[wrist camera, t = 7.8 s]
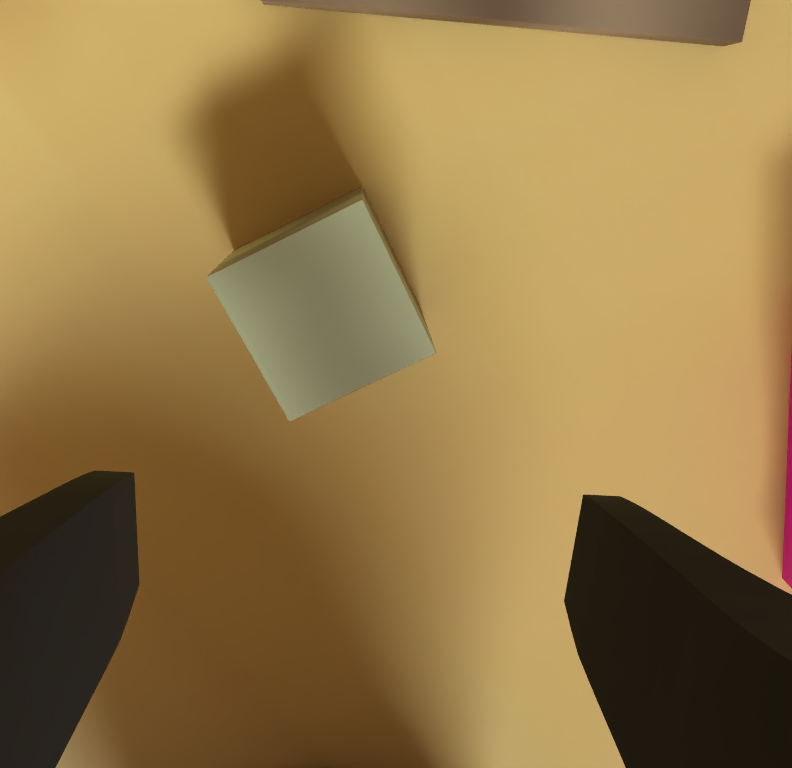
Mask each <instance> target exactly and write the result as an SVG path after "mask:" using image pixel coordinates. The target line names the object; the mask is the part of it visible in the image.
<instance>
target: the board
mask: <svg viewBox="0 0 792 768" xmlns="http://www.w3.org/2000/svg"><path fill="white" fill-rule="evenodd" d="M261 1H262V2H263V4H267V5H278V6H289V7H299V8H310V9H321V10H332V11H343V12H354V13H365V14H376V15H387V16H398V17H409V18H420V19H431V20H442V21H453V22H464V23H475V24H486V25H496V26H507V27H518V28H529V29H540V30H551V31H562V32H573V33H584V34H595V35H606V36H617V37H628V38H639V39H650V40H661V41H672V42H682V43H693V44H704V45H715V46H726V45H731V44H735V43H739V42H742V39H743V34H744V30H745V25H746V20H747V15H748V11H749V6H750V1H751V0H261Z"/></svg>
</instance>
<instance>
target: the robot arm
mask: <svg viewBox="0 0 792 768" xmlns="http://www.w3.org/2000/svg"><path fill="white" fill-rule="evenodd" d="M138 587H139V568H138V546H137V524H136V503H135V481H134V473H131V472H110V471H93V472H90V473H87V474H84V475H82V476H80V477H78V478H76V479H73V480H71V481H69V482H67V483H65V484H63V485H61V486H59V487H57V488H55V489H53V490H51V491H50V492H48V493H46V494H44V495H42V496H40V497H38V498H36V499H34V500H32V501H30V502H28V503H26V504H24V505H22V506H20V507H18V508H17V509H15V510H13V511H11V512H9V513H7V514H5V515H3V516H1V517H0V768H55V767H56V765H57V763H58V761H59V759H60V758H61V756H62V754H63V752H64V750H65V748H66V746H67V744H68V742H69V740H70V738H71V736H72V734H73V732H74V730H75V728H76V726H77V724H78V722H79V720H80V719H81V717H82V715H83V713H84V711H85V709H86V707H87V705H88V703H89V701H90V699H91V697H92V695H93V693H94V691H95V689H96V687H97V685H98V683H99V681H100V680H101V678H102V676H103V674H104V672H105V670H106V668H107V666H108V664H109V662H110V660H111V658H112V656H113V654H114V652H115V650H116V647H117V645H118V643H119V641H120V639H121V636H122V634H123V631H124V628H125V625H126V623H127V620H128V617H129V614H130V611H131V608H132V605H133V602H134V599H135V596H136V593H137V590H138ZM564 602H565V606H566V610H567V614H568V618H569V623H570V627H571V631H572V634H573V638H574V641H575V645H576V648H577V652H578V655H579V658H580V660H581V663H582V665H583V668H584V670H585V673H586V675H587V677H588V680H589V682H590V685H591V687H592V689H593V692H594V694H595V697H596V699H597V701H598V704H599V706H600V708H601V711H602V713H603V715H604V718H605V720H606V722H607V725H608V727H609V729H610V732H611V734H612V736H613V739H614V741H615V743H616V746H617V748H618V750H619V753H620V755H621V757H622V760H623V762H624V764H625V767H626V768H792V595H791V594H789V593H787V592H785V591H783V590H781V589H779V588H777V587H776V586H774V585H772V584H770V583H768V582H766V581H765V580H763V579H761V578H759V577H757V576H756V575H754V574H752V573H750V572H748V571H746V570H745V569H743V568H741V567H739V566H738V565H736V564H734V563H733V562H731V561H729V560H727V559H726V558H724V557H722V556H721V555H719V554H717V553H716V552H714V551H712V550H711V549H709V548H707V547H706V546H704V545H702V544H701V543H699V542H698V541H696V540H694V539H693V538H691V537H689V536H688V535H686V534H685V533H683V532H681V531H680V530H678V529H677V528H675V527H673V526H672V525H670V524H669V523H667V522H665V521H664V520H662V519H660V518H659V517H657V516H656V515H654V514H652V513H651V512H649V511H647V510H645V509H644V508H642V507H640V506H638V505H637V504H635V503H633V502H631V501H629V500H627V499H625V498H622V497H620V496H601V495H583V499H582V505H581V510H580V516H579V521H578V527H577V532H576V538H575V543H574V549H573V555H572V560H571V566H570V571H569V577H568V582H567V588H566V594H565V599H564Z"/></svg>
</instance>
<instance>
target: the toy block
mask: <svg viewBox="0 0 792 768" xmlns="http://www.w3.org/2000/svg"><path fill="white" fill-rule="evenodd" d="M782 578H783V579H784V581H785V582H786V583H787V584H788V585H789V586H790V587H791V588H792V355H791V379H790V403H789V428H788V452H787V476H786V500H785V524H784V549H783V573H782Z"/></svg>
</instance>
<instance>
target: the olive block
mask: <svg viewBox="0 0 792 768" xmlns="http://www.w3.org/2000/svg"><path fill="white" fill-rule="evenodd" d="M206 278H207V280H208V281H209V283H210V285H211V287H212V288H213V290H214V292H215V293H216V295H217V297H218V299H219V300H220V302H221V304H222V306H223V307H224V309H225V311H226V313H227V314H228V316H229V318H230V319H231V321H232V323H233V325H234V326H235V328H236V330H237V332H238V333H239V335H240V337H241V339H242V340H243V342H244V344H245V345H246V347H247V349H248V351H249V352H250V354H251V356H252V358H253V359H254V361H255V363H256V365H257V366H258V368H259V370H260V371H261V373H262V375H263V377H264V378H265V380H266V382H267V384H268V385H269V387H270V389H271V391H272V392H273V394H274V396H275V398H276V399H277V401H278V403H279V404H280V406H281V408H282V410H283V411H284V413H285V415H286V417H287V418H288V420H289V422H290V421H292V420H294V419H296V418H298V417H300V416H302V415H305V414H307V413H309V412H311V411H313V410H315V409H317V408H319V407H322V406H324V405H326V404H328V403H330V402H332V401H334V400H337V399H339V398H341V397H343V396H345V395H347V394H349V393H351V392H354V391H356V390H358V389H360V388H362V387H364V386H366V385H369V384H371V383H373V382H375V381H377V380H379V379H381V378H383V377H386V376H388V375H390V374H392V373H394V372H396V371H398V370H401V369H403V368H405V367H407V366H409V365H411V364H413V363H415V362H418V361H420V360H422V359H424V358H426V357H428V356H430V355H433V354H435V353H436V351H435V348H434V345H433V342H432V339H431V336H430V333H429V330H428V327H427V325H426V322H425V319H424V316H423V313H422V311H421V309H420V307H419V305H418V303H417V301H416V298H415V296H414V294H413V292H412V290H411V288H410V286H409V284H408V282H407V280H406V278H405V276H404V273H403V271H402V269H401V267H400V265H399V263H398V261H397V259H396V257H395V255H394V253H393V250H392V248H391V246H390V244H389V242H388V240H387V238H386V236H385V234H384V232H383V230H382V227H381V225H380V223H379V221H378V219H377V217H376V215H375V213H374V211H373V209H372V207H371V204H370V202H369V200H368V198H367V196H366V194H365V192H364V190H363V188H362V187H360V188H358V189H356V190H354V191H352V192H350V193H348V194H346V195H344V196H342V197H340V198H338V199H336V200H334V201H332V202H330V203H328V204H326V205H324V206H322V207H320V208H318V209H316V210H314V211H312V212H310V213H308V214H306V215H304V216H302V217H300V218H298V219H296V220H294V221H292V222H290V223H288V224H286V225H284V226H282V227H280V228H278V229H276V230H274V231H272V232H270V233H268V234H266V235H264V236H262V237H260V238H258V239H256V240H254V241H252V242H250V243H248V244H246V245H244V246H242V247H240V248H238V249H236V250H234V251H233V252H232V253H231V254H230V255H229V256H228V257H227V258H226V259H225V260H224V261H223V262H222V263H221V264H220V265H219V266H218V267H217V268H216V269H214V270H213V271H212V272H211V273H210V274H209V275H208V276H207V277H206Z"/></svg>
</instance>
